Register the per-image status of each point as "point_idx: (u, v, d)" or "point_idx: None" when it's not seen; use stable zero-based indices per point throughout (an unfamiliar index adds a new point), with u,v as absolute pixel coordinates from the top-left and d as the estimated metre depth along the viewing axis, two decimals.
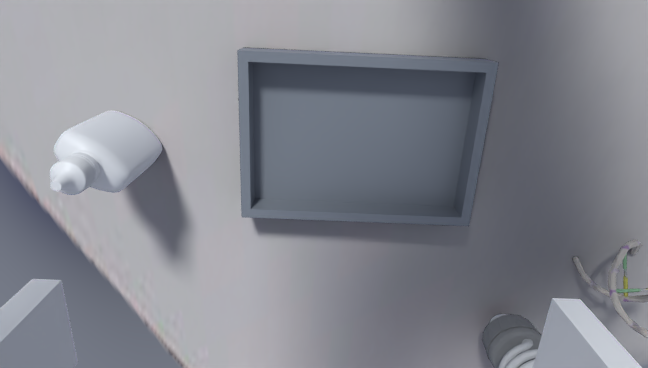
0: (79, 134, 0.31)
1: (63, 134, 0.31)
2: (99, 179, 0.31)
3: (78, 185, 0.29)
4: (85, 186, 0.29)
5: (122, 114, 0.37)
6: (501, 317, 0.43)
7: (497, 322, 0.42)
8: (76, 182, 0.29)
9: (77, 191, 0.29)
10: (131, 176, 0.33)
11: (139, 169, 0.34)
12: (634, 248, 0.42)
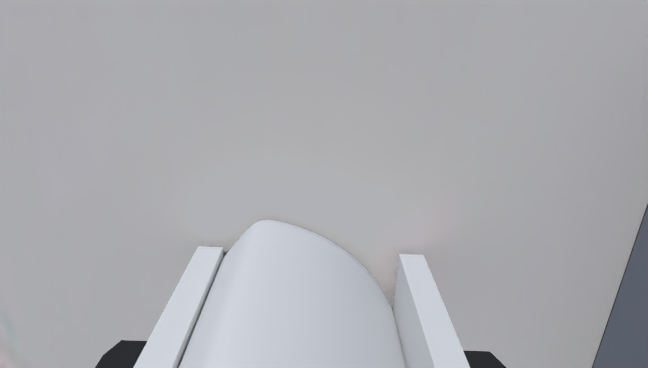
0: None
1: None
2: None
3: None
4: None
5: (300, 234, 0.13)
6: None
7: None
8: None
9: None
10: None
11: None
12: None
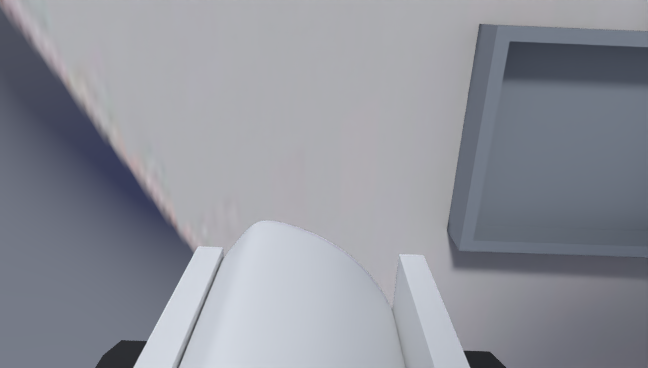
0: None
1: None
2: None
3: None
4: None
5: (300, 235, 0.13)
6: None
7: None
8: None
9: None
10: None
11: None
12: None
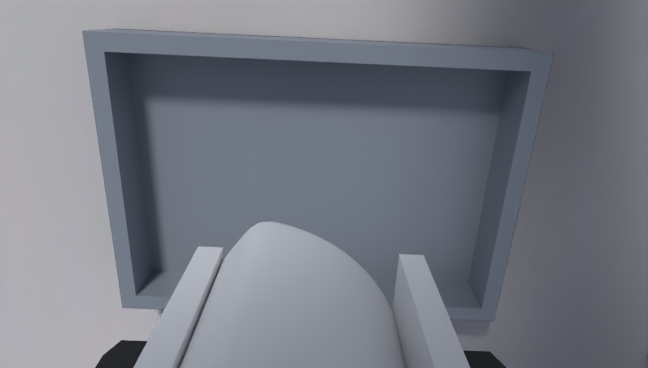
0: None
1: None
2: None
3: None
4: None
5: (300, 236, 0.13)
6: None
7: None
8: None
9: None
10: None
11: None
12: None
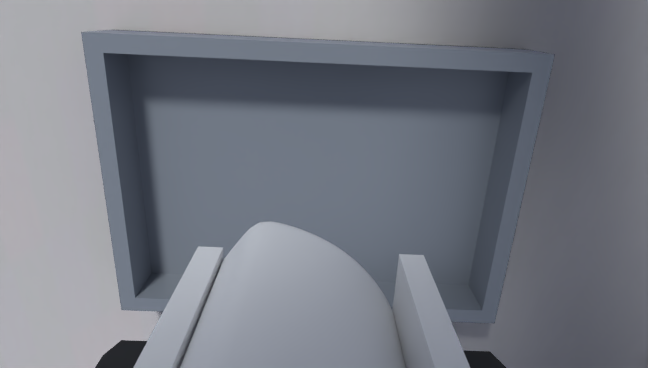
0: None
1: None
2: None
3: None
4: None
5: (300, 236, 0.13)
6: None
7: None
8: None
9: None
10: None
11: None
12: None
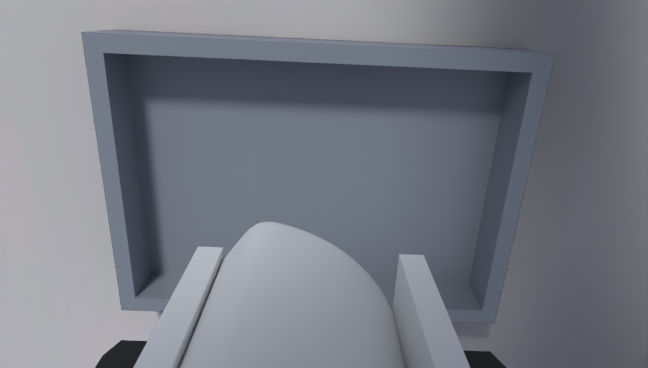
0: None
1: None
2: None
3: None
4: None
5: (300, 236, 0.13)
6: None
7: None
8: None
9: None
10: None
11: None
12: None
